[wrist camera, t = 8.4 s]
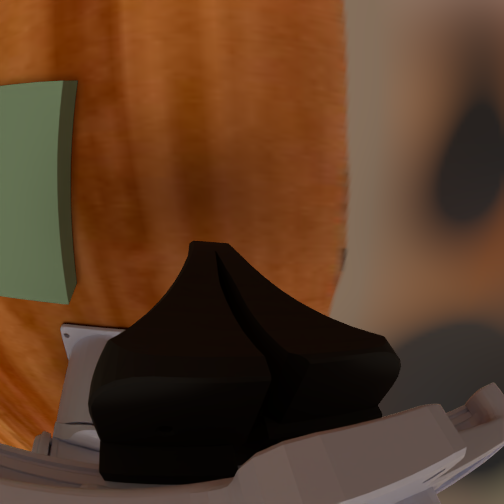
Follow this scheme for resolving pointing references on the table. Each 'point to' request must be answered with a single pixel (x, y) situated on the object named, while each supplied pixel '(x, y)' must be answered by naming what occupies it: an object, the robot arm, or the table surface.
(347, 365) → the robot arm
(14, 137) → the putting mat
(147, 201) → the table surface
